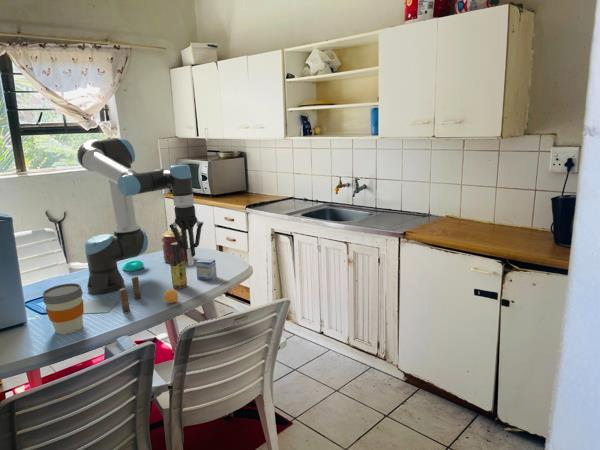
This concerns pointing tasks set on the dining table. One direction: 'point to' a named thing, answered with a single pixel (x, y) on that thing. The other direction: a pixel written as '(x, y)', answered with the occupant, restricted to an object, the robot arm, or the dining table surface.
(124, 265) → the donuts
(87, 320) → the dining table surface
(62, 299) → the reusable coffee cup
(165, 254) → the canister
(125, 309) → the post
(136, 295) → the post
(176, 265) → the sauce bottle
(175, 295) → the ball
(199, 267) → the medicine box
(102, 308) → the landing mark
